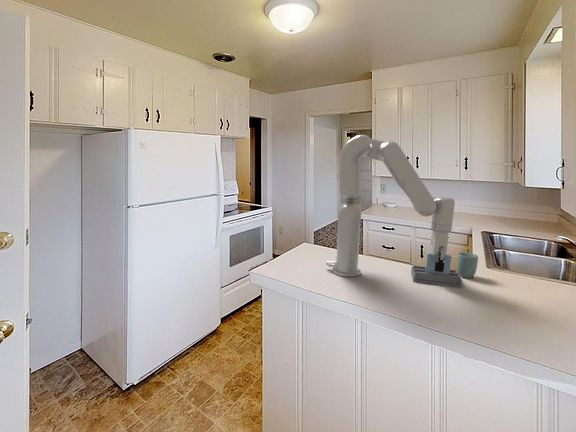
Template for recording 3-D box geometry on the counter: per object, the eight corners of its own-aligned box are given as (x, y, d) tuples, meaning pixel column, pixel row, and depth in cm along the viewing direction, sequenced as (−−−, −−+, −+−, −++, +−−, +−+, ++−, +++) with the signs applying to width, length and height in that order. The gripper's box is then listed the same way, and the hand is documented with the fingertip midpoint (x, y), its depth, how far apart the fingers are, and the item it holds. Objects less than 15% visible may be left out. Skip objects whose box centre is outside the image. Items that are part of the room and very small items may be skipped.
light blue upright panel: (425, 278, 132) (427, 253, 130) (424, 277, 133) (427, 252, 131) (448, 281, 129) (451, 256, 127) (447, 280, 131) (450, 254, 129)
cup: (457, 272, 144) (460, 251, 142) (476, 276, 139) (479, 254, 137) (453, 276, 138) (456, 254, 136) (473, 281, 133) (476, 258, 132)
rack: (413, 281, 131) (414, 272, 130) (411, 273, 141) (411, 264, 140) (461, 287, 126) (462, 278, 125) (455, 278, 136) (456, 269, 136)
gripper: (428, 223, 137) (424, 260, 140) (434, 231, 120) (430, 273, 123) (447, 224, 135) (442, 262, 138) (456, 232, 118) (451, 275, 121)
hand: (436, 267), depth 130 cm, fingers open, 9 cm apart
